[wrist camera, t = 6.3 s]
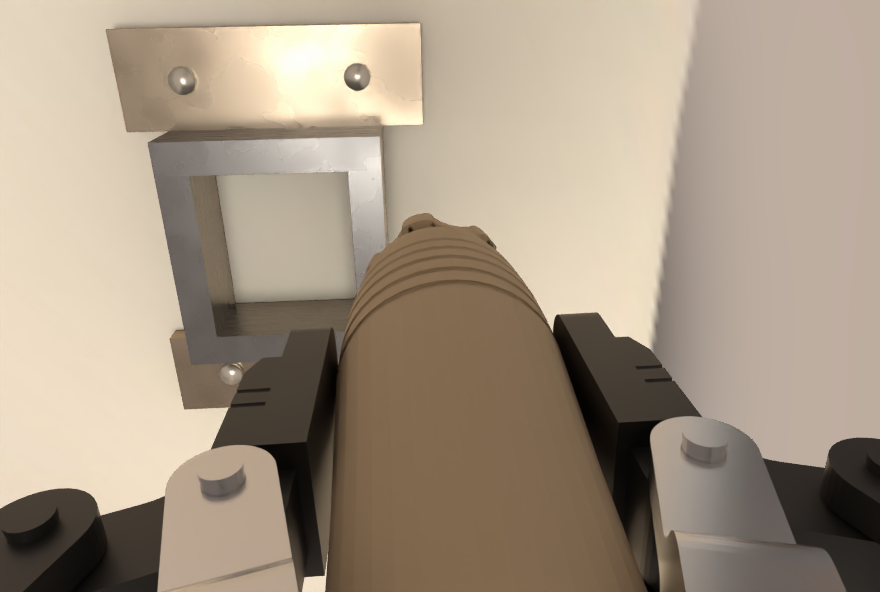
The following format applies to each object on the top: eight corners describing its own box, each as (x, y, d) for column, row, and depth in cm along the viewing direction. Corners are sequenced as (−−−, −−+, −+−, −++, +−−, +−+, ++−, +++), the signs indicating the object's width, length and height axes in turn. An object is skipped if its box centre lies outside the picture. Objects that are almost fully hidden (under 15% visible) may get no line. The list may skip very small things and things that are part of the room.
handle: (573, 316, 18) (1224, 1411, 4) (345, 380, 18) (168, 1599, 4) (534, 142, 16) (1560, 1039, 2) (281, 216, 16) (-457, 1449, 2)
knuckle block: (114, 28, 30) (75, 31, 26) (419, 23, 31) (422, 24, 27) (189, 399, 38) (167, 441, 34) (429, 388, 39) (432, 428, 35)
